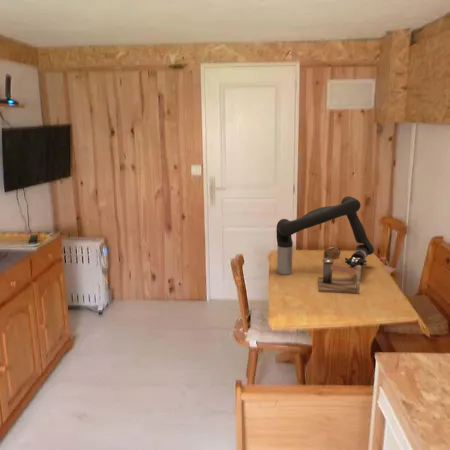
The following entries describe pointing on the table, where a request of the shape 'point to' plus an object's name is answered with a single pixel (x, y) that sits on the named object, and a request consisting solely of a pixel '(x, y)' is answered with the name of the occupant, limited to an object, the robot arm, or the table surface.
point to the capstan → (330, 266)
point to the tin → (332, 252)
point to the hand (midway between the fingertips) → (352, 265)
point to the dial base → (341, 284)
